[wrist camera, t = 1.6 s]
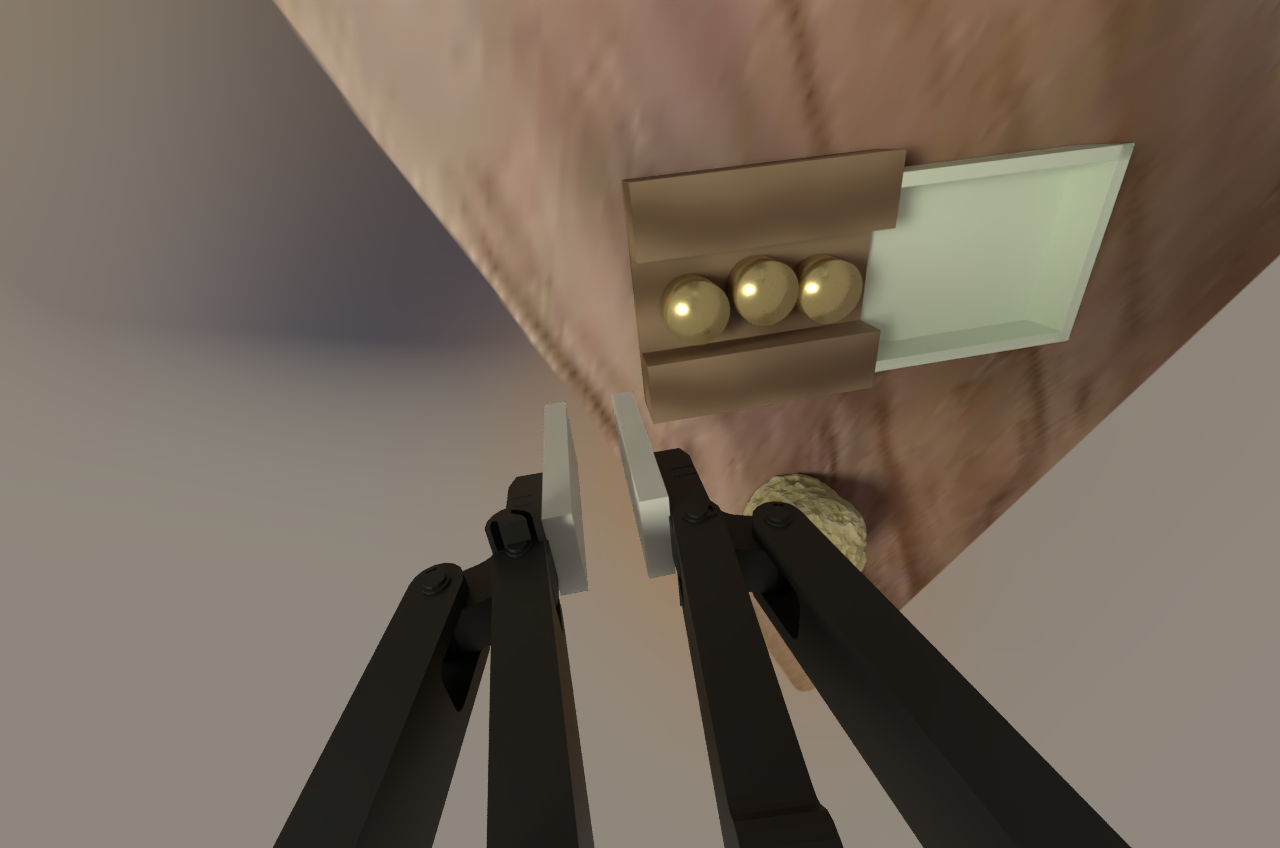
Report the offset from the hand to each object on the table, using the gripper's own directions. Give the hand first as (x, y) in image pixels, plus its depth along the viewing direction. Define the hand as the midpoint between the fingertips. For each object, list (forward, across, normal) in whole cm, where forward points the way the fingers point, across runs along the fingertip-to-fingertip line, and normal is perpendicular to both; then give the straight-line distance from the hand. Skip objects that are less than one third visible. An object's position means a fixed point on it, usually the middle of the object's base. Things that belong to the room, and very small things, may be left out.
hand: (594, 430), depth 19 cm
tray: (+16, +28, 0) cm, 32 cm away
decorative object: (+17, +16, -21) cm, 31 cm away
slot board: (+16, +12, 0) cm, 20 cm away
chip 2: (+15, +12, 0) cm, 20 cm away
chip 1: (+15, +8, 0) cm, 17 cm away
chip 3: (+15, +16, 0) cm, 22 cm away
